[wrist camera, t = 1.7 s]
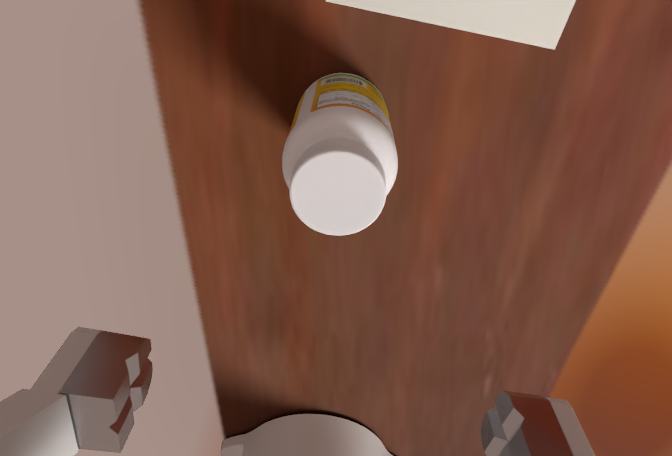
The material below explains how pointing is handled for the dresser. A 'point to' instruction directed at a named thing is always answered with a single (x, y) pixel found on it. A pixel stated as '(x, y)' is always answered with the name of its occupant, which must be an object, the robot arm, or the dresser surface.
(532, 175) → the dresser surface
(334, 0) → the caddy
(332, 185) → the supplement bottle
